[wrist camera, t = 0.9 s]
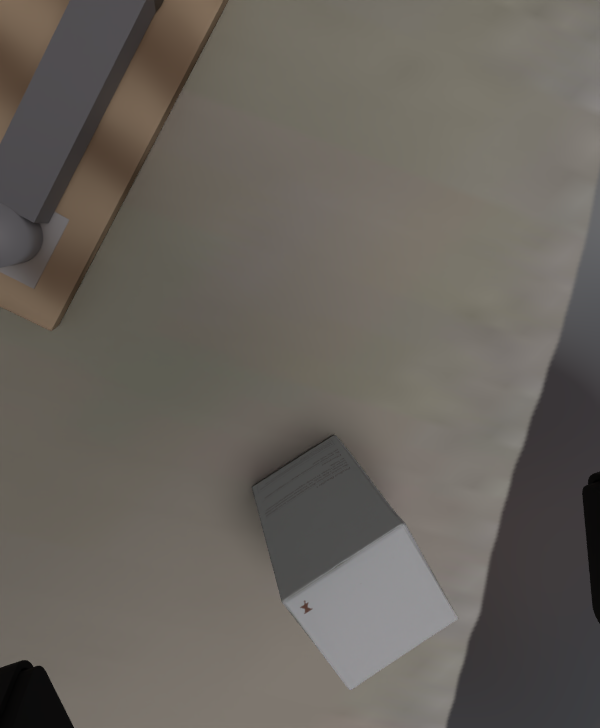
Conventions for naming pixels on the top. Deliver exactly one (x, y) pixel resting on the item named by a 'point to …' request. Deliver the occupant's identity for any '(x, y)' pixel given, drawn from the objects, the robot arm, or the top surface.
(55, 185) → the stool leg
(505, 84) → the top surface
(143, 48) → the flat wooden plank
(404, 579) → the supplement box
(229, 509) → the top surface
